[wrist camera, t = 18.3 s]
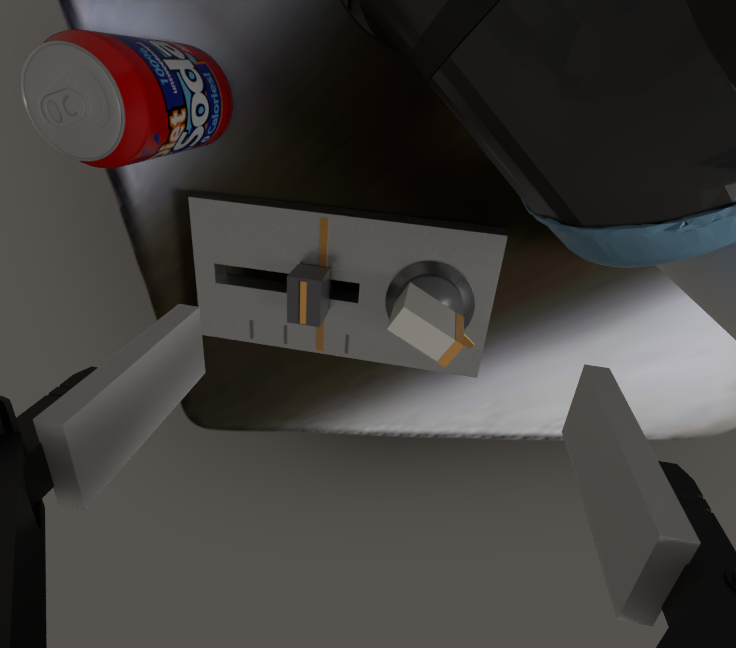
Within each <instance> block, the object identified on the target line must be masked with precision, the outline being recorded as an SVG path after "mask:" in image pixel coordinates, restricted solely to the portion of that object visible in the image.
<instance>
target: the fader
mask: <svg viewBox="0 0 736 648" xmlns="http://www.w3.org/2000/svg"><path fill="white" fill-rule="evenodd" d="M332 283H333V280H331V279H330V268H325V267H317V266H310V265H303V264H297V266H296V267H295V268H294V269H293V270H292V271H291V272H290V273H289V275H288V276H287V323H294V324H301V325H307V326H314V327H320V326H321V324H322V322H323V321H324V319H325V317H326V315H327V314H328V308H329V291H330V290H331V288H332Z"/></svg>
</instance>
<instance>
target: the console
mask: <svg viewBox="0 0 736 648" xmlns="http://www.w3.org/2000/svg"><path fill="white" fill-rule="evenodd" d="M188 199H189V210H190V221H191V232H192V243H193V253H194V264H195V275H196V286H197V297H198V307H199V309H200V320H201V331H202V335H207V336H214V337H220V338H227V339H233V340H239V341H246V342H252V343H258V344H265V345H271V346H278V347H284V348H290V349H297V350H303V351H310V352H316V353H322V354H329V355H335V356H342V357H348V358H354V359H361V360H367V361H374V362H380V363H386V364H393V365H399V366H406V367H412V368H418V369H425V370H431V371H438V372H444V373H450V374H457V375H463V376H470V377H476V378H477V375H478V370H479V366H480V361H481V356H482V352H483V347H484V343H485V338H486V333H487V329H488V324H489V320H490V315H491V310H492V306H493V301H494V296H495V292H496V287H497V283H498V278H499V273H500V269H501V264H502V260H503V255H504V250H505V246H506V241H507V232H506V229H505V228H502V227H494V226H485V225H477V224H469V223H461V222H452V221H444V220H436V219H427V218H419V217H411V216H402V215H394V214H386V213H378V212H369V211H361V210H353V209H344V208H336V207H328V206H319V205H311V204H303V203H295V202H286V201H278V200H270V199H261V198H253V197H245V196H236V195H228V194H220V193H212V192H203V191H201V192H199V193H196V194H194V195H192V196H189V197H188ZM297 264H303V265H310V266H317V267H325V268H330V279H331V280H338V281H346V282H353V283H360V287H359V292H352V291H345V290H338V289H331V290H330V291H329V308H328V314H327V315H326V317H325V319H324V321H323V322H322V324H321V326H320V327H314V326H307V325H301V324H294V323H287V282H281V281H274V280H267V279H260V278H253V277H245V276H238V275H231V274H227V272H226V265H230V266H237V267H244V268H251V269H259V270H266V271H273V272H280V273H288V274H289V273H290V272H291V271H292V270H293V269H294V268H295V267H296V266H297ZM422 274H437V275H440V276H443V277H445V278H447V279H449V280H450V281H452V282H453V283H454V284H455V285H456V286H457V288H458V289H459V291H460V292H461V295H462V298H463V317H464V347H463V348H462V349H461V350H460V351H459V352H458V354H457V355H456V356H455V357H454V358H453V359H452V360H451V361H450V363H449V364H448V365H447V366H446V367H443V366H442V365H440V364H439V363H437V361H435V360H434V359H432V358H431V357H429V356H428V355H426V354H425V353H423V352H421V351H420V350H418V349H417V348H415V347H414V346H412V345H411V344H409V343H408V342H406V341H404V340H403V339H401V338H400V337H398V336H397V335H395V334H394V333H392V332H391V331H389V330H387V327H388V324H389V320H390V317H391V314H392V310H393V307H394V303H395V302H396V298H397V295H398V292H399V290H400V289H401V287H402V286H403V285H404V284H405V283H406V282H407V281H408V280H410V279H411V278H413V277H415V276H418V275H422Z"/></svg>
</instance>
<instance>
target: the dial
mask: <svg viewBox="0 0 736 648" xmlns="http://www.w3.org/2000/svg"><path fill="white" fill-rule="evenodd" d="M387 330H389V331H391V332H392V333H394V334H395V335H397V336H398V337H400V338H401V339H403V340H404V341H406V342H408V343H409V344H411V345H412V346H414V347H415V348H417V349H418V350H420V351H421V352H423V353H425V354H426V355H428V356H429V357H431V358H432V359H434V360H435V361H437V363H439V364H440V365H442V366H443V367H446V366H447V365H448V364H449V363H450V361H451V360H452V359H453V358H454V357H455V356H456V355H457V354H458V352H459V351H460V350H461V349H462V348H463V347H464V317H463V298H462V295H461V292H460V291H459V289H458V288H457V286H456V285H455V284H454V283H453V282H452V281H450V280H449V279H447V278H445V277H443V276H440V275H437V274H422V275H418V276H415V277H413V278H411V279H410V280H408V281H407V282H406V283H405V284H404V285H403V286H402V287H401V289H400V290H399V292H398V295H397V298H396V302H395V303H394V307H393V310H392V314H391V317H390V320H389V324H388V327H387Z"/></svg>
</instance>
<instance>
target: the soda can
mask: <svg viewBox="0 0 736 648" xmlns="http://www.w3.org/2000/svg"><path fill="white" fill-rule="evenodd" d="M20 84H21V95H22V100H23V103H24V107H25V110H26V112H27V114H28V117H29V119H30V121H31V123H32V124H33V126H34V127H35V129H36V130H37V132H38V133H39V134H40V136H41V137H42V138H43V139H44V140H45V141H46V142H47V143H48V144H49V145H50V146H51V147H52V148H54V149H55V150H56V151H58V152H59V153H61V154H63V155H65V156H67V157H69V158H72V159H75V160H79V161H80V162H82V163H85V164H87V165H90V166H93V167H98V168H117V167H122V166H126V165H130V164H134V163H138V162H142V161H146V160H150V159H154V158H158V157H162V156H166V155H170V154H174V153H178V152H182V151H186V150H190V149H194V148H198V147H202V146H205V145H208V144H211V143H212V142H214V141H216V140H217V139H218V138H219V137H221V135H222V134H223V133H224V132H225V130H226V129H227V127H228V125H229V122H230V119H231V115H232V108H233V101H232V93H231V89H230V85H229V82H228V80H227V78H226V76H225V74H224V72H223V70H222V69H221V67H220V66H219V65H218V63H217V62H216V61H215V60H214V59H213V58H212V57H211V56H209V55H208V54H207V53H205V52H204V51H202V50H200V49H198V48H196V47H194V46H191V45H186V44H181V43H174V42H167V41H159V40H152V39H145V38H138V37H131V36H124V35H117V34H109V33H102V32H95V31H88V30H67V31H62V32H59V33H57V34H54V35H52V36H51V37H50V38H48V39H47V40H46V41H45V42H44V43H43V44H40V45H39V46H37V47H36V48H35V49H34V50H32V51H31V52H30V54H29V55H28V56H27V58H26V60H25V62H24V65H23V68H22V72H21V82H20Z"/></svg>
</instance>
